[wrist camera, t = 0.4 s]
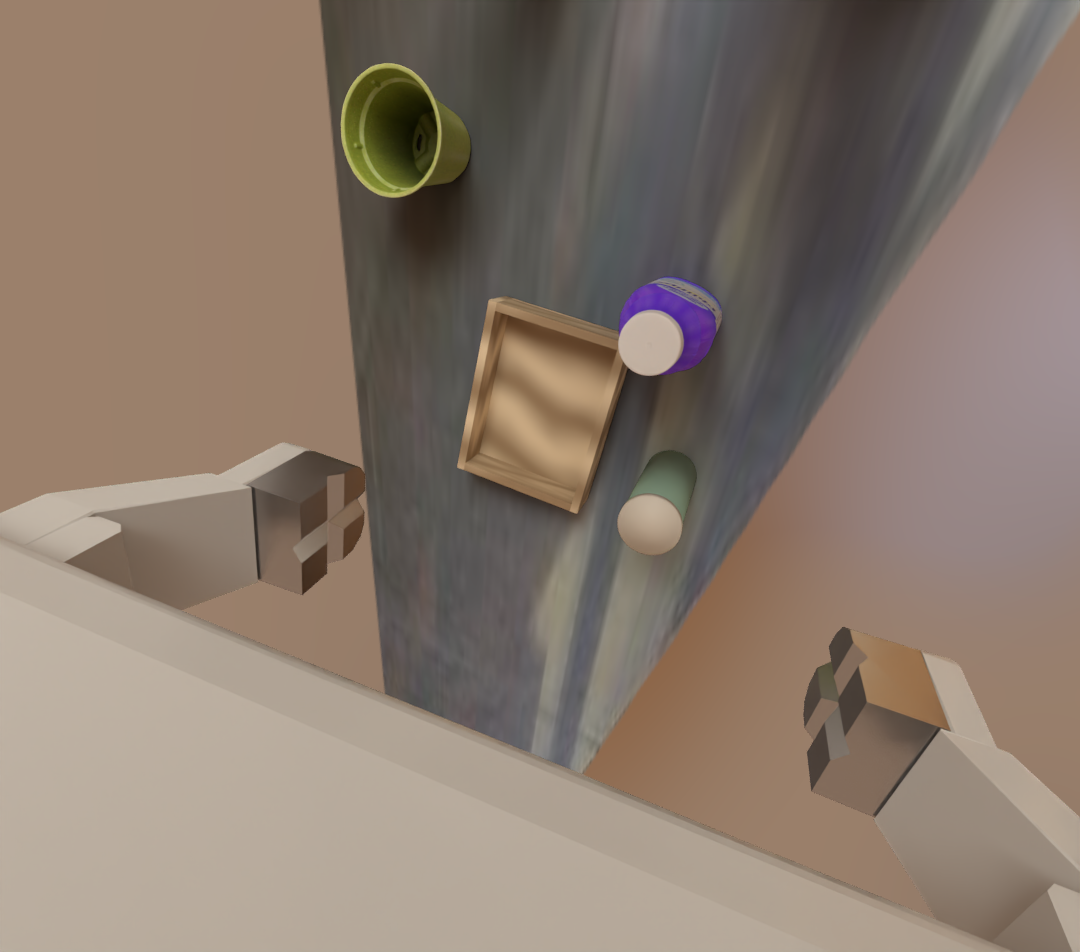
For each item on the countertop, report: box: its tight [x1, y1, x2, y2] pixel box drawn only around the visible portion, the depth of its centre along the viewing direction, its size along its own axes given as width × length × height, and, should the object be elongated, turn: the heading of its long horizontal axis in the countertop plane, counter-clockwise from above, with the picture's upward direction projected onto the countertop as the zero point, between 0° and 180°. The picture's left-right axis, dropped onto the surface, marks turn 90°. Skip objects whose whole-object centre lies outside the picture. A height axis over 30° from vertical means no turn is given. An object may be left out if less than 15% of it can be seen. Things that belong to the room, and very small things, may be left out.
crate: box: [457, 296, 628, 514], centre depth 59 cm, size 18×14×4 cm
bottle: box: [618, 277, 722, 376], centre depth 45 cm, size 7×6×17 cm
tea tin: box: [617, 451, 697, 555], centre depth 53 cm, size 5×5×12 cm
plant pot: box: [341, 63, 471, 198], centre depth 51 cm, size 9×9×9 cm
